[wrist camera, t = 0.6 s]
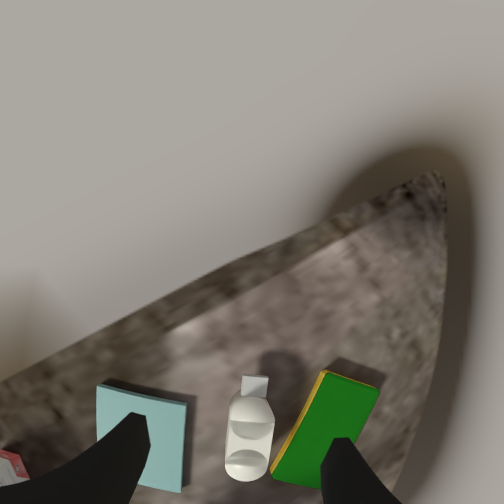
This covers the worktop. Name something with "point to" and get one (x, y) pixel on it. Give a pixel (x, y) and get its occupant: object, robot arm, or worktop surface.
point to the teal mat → (160, 432)
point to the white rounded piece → (249, 430)
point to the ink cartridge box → (11, 468)
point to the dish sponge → (323, 427)
